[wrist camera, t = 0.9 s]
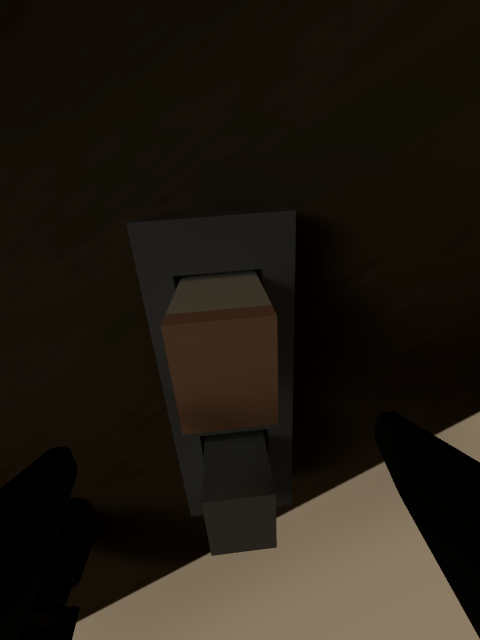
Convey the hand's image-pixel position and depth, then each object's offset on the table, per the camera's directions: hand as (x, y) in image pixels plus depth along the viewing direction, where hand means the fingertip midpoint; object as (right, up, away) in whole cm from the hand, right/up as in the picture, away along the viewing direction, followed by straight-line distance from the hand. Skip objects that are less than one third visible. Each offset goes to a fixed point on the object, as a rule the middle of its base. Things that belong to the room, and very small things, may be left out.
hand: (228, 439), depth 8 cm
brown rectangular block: (-1, +5, +11) cm, 12 cm away
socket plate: (-1, 0, +13) cm, 13 cm away
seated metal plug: (0, -5, +15) cm, 16 cm away
